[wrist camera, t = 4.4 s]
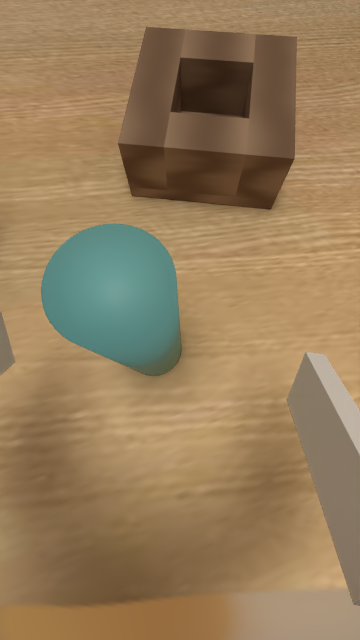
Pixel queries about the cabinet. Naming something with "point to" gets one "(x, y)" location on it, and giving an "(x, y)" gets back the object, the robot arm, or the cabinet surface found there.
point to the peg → (116, 297)
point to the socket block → (211, 117)
